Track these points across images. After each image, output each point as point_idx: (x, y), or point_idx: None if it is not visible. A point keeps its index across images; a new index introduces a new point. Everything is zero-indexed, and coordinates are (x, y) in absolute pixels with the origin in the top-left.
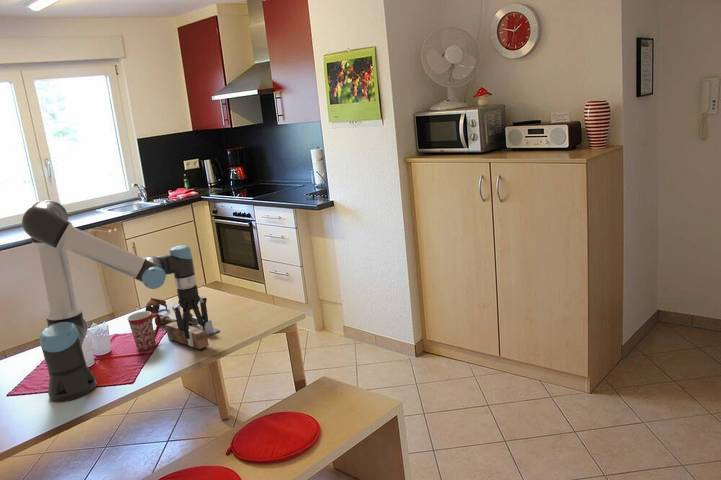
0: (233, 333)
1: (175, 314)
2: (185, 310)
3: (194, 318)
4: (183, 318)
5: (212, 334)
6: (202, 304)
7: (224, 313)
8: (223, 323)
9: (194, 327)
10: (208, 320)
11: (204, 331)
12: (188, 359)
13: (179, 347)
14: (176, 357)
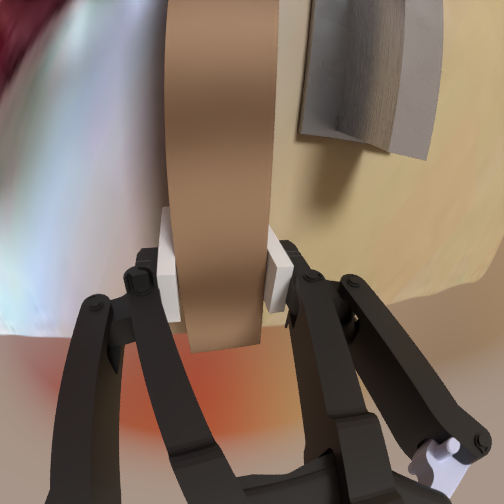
0: (388, 228)
1: (55, 463)
2: (212, 477)
3: (404, 3)
4: (148, 390)
5: (356, 140)
6: (407, 439)
7: (488, 31)
8: (448, 91)
9: (265, 213)
10: (415, 151)
11: (248, 344)
12: None
13: (138, 117)
14: (75, 237)
